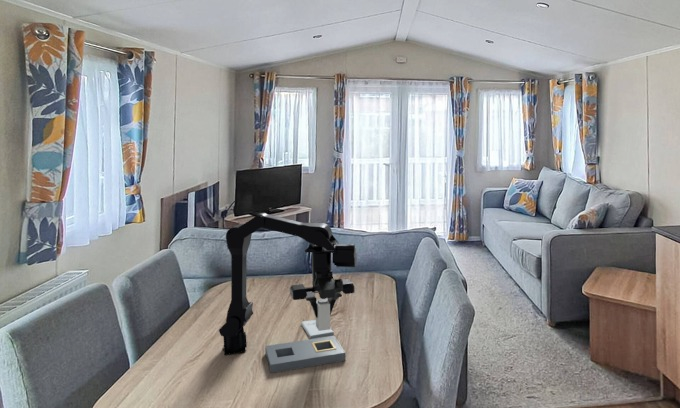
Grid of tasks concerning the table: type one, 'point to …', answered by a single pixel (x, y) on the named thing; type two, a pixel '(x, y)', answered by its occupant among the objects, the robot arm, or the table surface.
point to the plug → (323, 315)
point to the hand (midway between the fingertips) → (322, 316)
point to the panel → (304, 353)
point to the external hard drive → (315, 330)
